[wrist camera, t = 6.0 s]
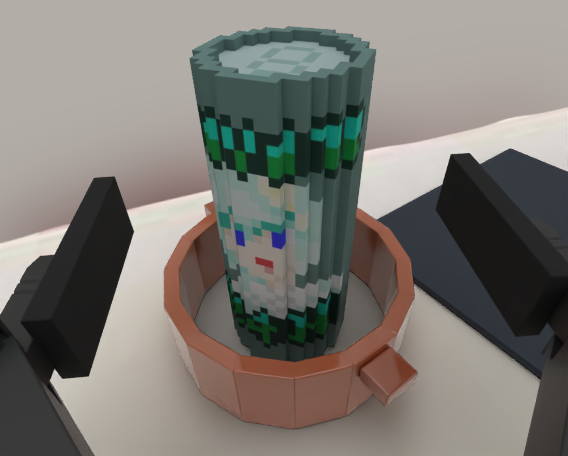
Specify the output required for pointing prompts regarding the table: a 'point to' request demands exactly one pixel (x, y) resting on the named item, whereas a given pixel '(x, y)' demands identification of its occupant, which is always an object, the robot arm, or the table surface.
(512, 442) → the table surface
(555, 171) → the mat
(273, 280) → the can
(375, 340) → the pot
